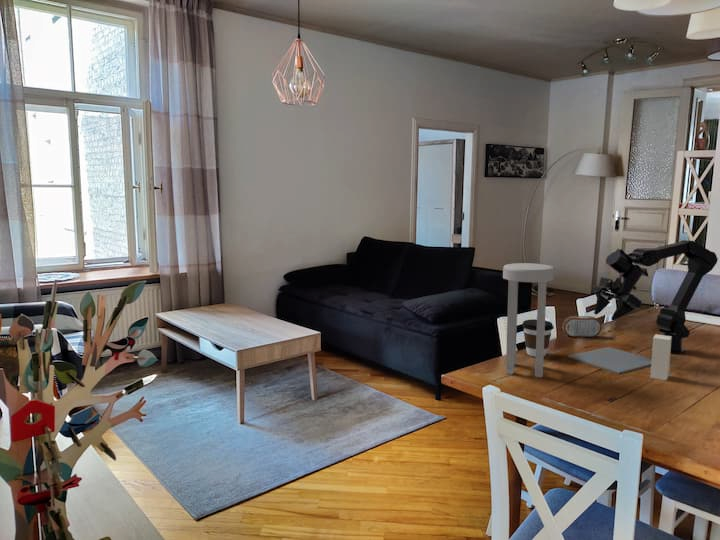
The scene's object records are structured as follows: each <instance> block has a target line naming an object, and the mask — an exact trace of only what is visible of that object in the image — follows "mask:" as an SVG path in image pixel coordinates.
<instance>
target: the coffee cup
mask: <svg viewBox="0 0 720 540" xmlns="http://www.w3.org/2000/svg"><path fill="white" fill-rule="evenodd" d="M521 328H523V336H524V342H525V349H526V353H527V355H528V356H529V355H530V356H529V357H532V356H534V358H536V334H537V318H536V319H526V320H523V321H522V323H521ZM553 329H554V325H553V323H552V322H550V321H549V320H545V334H544V357H546V355H547V352H548V348H549V346H550V342H551V341H550V340H551V335H552V330H553Z"/></svg>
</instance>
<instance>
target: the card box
mask: <svg viewBox="0 0 720 540" xmlns="http://www.w3.org/2000/svg"><path fill="white" fill-rule="evenodd" d="M671 339H672V336H665V334H656V333H655V334H654V336H653V338H652V351H651V359H652V361H651V366H650V376H649V377H650V379H657V380H661V381H662V380H663V381H668V379H669V376H670V363H671V353H670V352H671Z"/></svg>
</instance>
